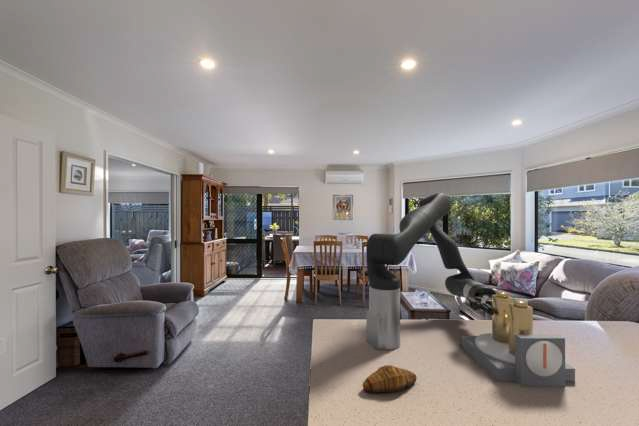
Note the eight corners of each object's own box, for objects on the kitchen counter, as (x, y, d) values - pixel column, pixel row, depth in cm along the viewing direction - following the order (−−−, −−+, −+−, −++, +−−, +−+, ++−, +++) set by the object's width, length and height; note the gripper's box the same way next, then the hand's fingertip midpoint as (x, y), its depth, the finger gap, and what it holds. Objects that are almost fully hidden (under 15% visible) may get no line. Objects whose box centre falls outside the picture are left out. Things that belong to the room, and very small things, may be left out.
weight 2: (525, 360, 69) (524, 305, 69) (504, 351, 74) (504, 300, 74) (537, 356, 71) (537, 303, 71) (516, 347, 76) (516, 297, 76)
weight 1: (505, 345, 77) (505, 296, 77) (488, 337, 82) (487, 291, 82) (517, 341, 79) (517, 293, 80) (499, 334, 84) (499, 289, 84)
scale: (505, 387, 65) (505, 339, 65) (461, 345, 86) (461, 309, 86) (585, 388, 65) (585, 339, 65) (521, 346, 85) (521, 309, 85)
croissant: (370, 402, 60) (370, 378, 60) (356, 384, 66) (356, 362, 66) (425, 390, 64) (425, 368, 64) (407, 374, 71) (407, 354, 71)
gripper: (457, 283, 95) (479, 297, 79) (502, 284, 94) (535, 299, 78) (457, 305, 95) (479, 325, 79) (502, 307, 94) (535, 326, 78)
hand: (507, 312), depth 78 cm, fingers open, 7 cm apart
